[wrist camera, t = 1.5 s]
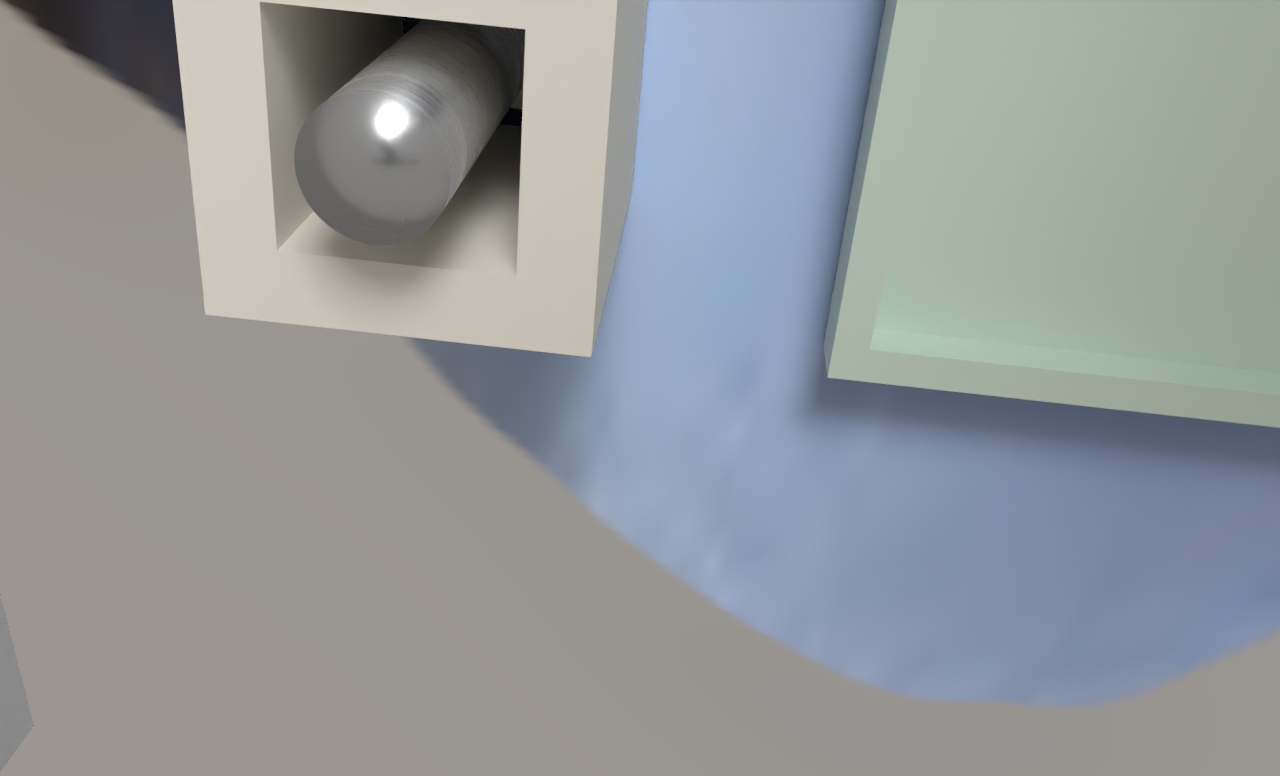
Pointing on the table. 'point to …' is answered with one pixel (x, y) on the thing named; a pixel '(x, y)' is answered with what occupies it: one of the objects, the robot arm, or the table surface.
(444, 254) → the hollow block
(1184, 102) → the tray
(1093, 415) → the table surface
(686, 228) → the table surface
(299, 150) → the grey metal cylinder
